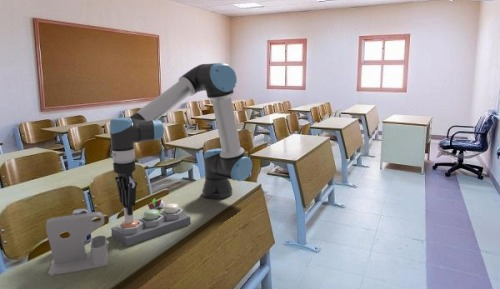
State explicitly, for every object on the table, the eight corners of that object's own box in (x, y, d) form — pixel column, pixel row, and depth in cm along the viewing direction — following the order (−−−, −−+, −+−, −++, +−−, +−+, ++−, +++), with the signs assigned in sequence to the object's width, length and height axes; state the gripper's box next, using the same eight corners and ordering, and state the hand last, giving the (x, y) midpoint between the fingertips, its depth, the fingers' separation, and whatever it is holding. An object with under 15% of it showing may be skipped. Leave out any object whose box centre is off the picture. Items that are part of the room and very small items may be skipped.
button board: (173, 215, 155) (172, 204, 154) (190, 223, 146) (190, 212, 145) (111, 235, 137) (110, 222, 136) (127, 246, 127) (126, 233, 126)
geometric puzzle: (142, 211, 154) (152, 197, 153) (147, 205, 161) (156, 191, 160) (156, 220, 155) (166, 206, 154) (160, 214, 162) (170, 201, 160)
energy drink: (83, 245, 129) (80, 214, 126) (72, 243, 130) (68, 212, 128) (94, 239, 133) (91, 208, 131) (83, 237, 135) (80, 207, 133)
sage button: (154, 213, 144) (154, 208, 144) (161, 217, 140) (161, 211, 140) (141, 217, 140) (141, 212, 140) (148, 222, 136) (148, 216, 136)
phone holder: (109, 251, 125) (104, 201, 121) (108, 265, 115) (103, 212, 112) (52, 260, 119) (45, 209, 115) (47, 276, 109) (39, 221, 106)
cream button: (173, 207, 150) (173, 202, 150) (181, 211, 146) (181, 205, 146) (162, 211, 146) (161, 206, 146) (169, 215, 142) (169, 209, 142)
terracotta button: (133, 224, 138) (133, 218, 138) (140, 228, 134) (140, 222, 134) (119, 228, 135) (119, 222, 134) (126, 233, 131) (125, 227, 130)
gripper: (106, 159, 131) (112, 220, 136) (122, 165, 122) (127, 230, 127) (125, 156, 136) (130, 215, 141) (142, 162, 127) (147, 224, 132)
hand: (129, 222), depth 134 cm, fingers closed
